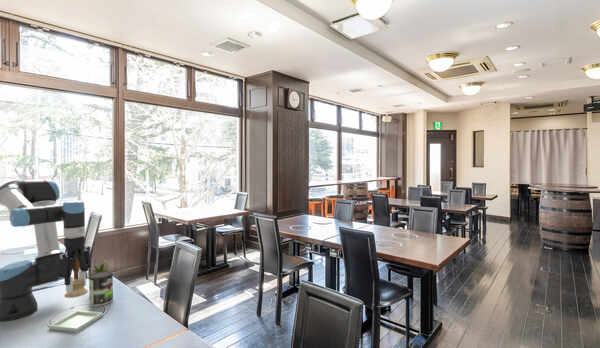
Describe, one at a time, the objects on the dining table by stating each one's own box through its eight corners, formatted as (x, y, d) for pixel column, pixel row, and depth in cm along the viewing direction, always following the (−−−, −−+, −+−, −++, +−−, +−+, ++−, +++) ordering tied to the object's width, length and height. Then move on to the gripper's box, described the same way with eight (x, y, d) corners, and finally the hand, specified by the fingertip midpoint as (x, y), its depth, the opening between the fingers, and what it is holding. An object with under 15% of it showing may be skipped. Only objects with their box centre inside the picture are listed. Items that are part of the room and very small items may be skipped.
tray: (49, 329, 129) (48, 325, 129) (77, 314, 142) (77, 310, 142) (76, 332, 126) (76, 328, 126) (103, 316, 140) (102, 312, 140)
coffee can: (118, 298, 159) (117, 271, 158) (101, 307, 149) (100, 278, 148) (101, 296, 161) (100, 270, 160) (84, 305, 151) (83, 277, 150)
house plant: (90, 286, 173) (89, 258, 173) (117, 283, 178) (116, 256, 177) (80, 297, 160) (79, 266, 159) (110, 293, 164) (109, 264, 163)
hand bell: (92, 291, 137) (91, 255, 136) (74, 299, 129) (73, 261, 128) (78, 289, 139) (77, 254, 138) (59, 296, 131) (58, 260, 130)
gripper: (62, 242, 123) (63, 298, 124) (99, 231, 141) (101, 280, 142) (46, 241, 124) (48, 297, 125) (85, 231, 143) (87, 280, 143)
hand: (76, 288), depth 134 cm, fingers closed on hand bell, 6 cm apart
